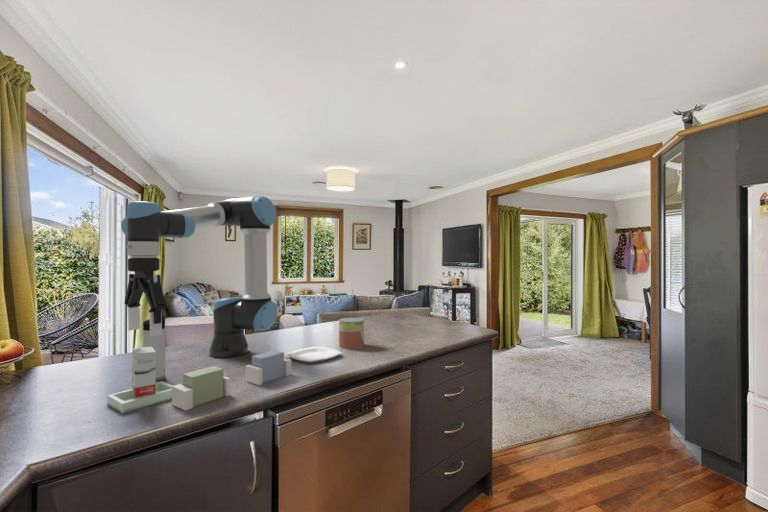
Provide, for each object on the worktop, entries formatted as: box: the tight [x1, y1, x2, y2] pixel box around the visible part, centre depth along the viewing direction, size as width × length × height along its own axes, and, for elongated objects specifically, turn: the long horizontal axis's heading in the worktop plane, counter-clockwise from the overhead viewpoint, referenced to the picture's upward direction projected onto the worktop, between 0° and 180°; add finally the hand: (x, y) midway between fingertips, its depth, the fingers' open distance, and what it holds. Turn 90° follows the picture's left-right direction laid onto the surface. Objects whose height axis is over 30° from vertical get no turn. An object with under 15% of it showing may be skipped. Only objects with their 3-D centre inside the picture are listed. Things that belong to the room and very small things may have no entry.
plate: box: [286, 345, 343, 364], centre depth 147 cm, size 19×19×2 cm
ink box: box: [131, 346, 157, 398], centre depth 103 cm, size 8×5×12 cm, turn 39°
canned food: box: [338, 317, 365, 350], centre depth 165 cm, size 11×11×12 cm
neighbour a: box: [182, 365, 224, 407], centre depth 104 cm, size 5×9×8 cm, turn 145°
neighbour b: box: [251, 349, 285, 384], centre depth 122 cm, size 5×9×8 cm, turn 145°
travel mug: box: [142, 316, 166, 382], centre depth 121 cm, size 6×7×20 cm
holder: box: [171, 357, 292, 412], centre depth 113 cm, size 7×36×5 cm, turn 145°
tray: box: [107, 380, 174, 414], centre depth 103 cm, size 10×14×2 cm
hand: (144, 332), depth 103 cm, fingers open, 13 cm apart
